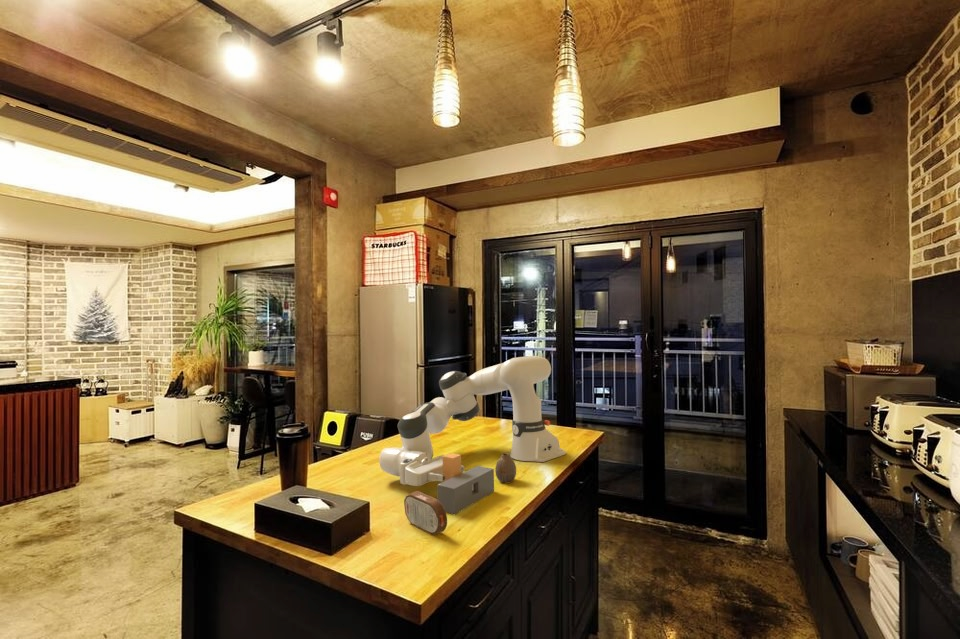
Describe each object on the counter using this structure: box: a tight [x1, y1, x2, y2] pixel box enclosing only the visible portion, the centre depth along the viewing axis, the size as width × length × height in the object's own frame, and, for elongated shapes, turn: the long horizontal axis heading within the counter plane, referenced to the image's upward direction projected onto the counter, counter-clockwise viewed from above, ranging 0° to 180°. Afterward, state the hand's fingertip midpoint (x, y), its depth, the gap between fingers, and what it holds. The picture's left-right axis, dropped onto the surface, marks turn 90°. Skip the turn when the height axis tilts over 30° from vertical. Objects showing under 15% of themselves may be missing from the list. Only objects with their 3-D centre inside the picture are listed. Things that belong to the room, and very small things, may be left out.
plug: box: [442, 452, 474, 491], centre depth 134 cm, size 9×4×12 cm, turn 55°
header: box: [436, 465, 495, 515], centre depth 132 cm, size 6×20×7 cm, turn 145°
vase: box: [494, 453, 517, 484], centre depth 148 cm, size 7×7×9 cm
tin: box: [403, 490, 448, 536], centre depth 114 cm, size 15×3×8 cm, turn 45°
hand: (453, 473), depth 135 cm, fingers open, 8 cm apart
